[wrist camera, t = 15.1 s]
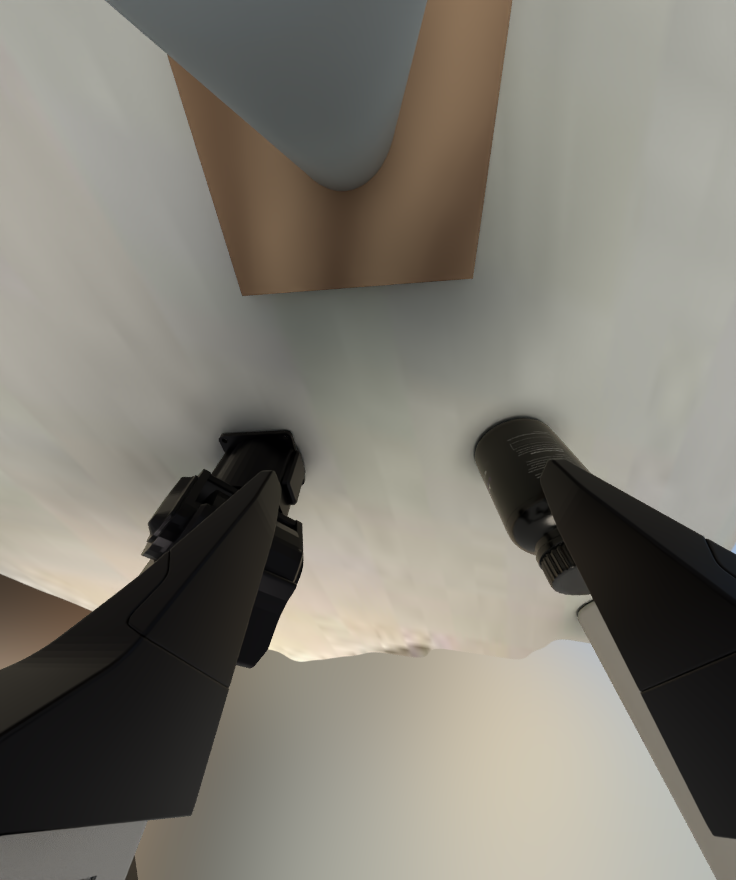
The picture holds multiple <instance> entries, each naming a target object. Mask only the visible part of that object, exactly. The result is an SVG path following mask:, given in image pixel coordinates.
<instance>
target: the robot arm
mask: <svg viewBox="0 0 736 880" xmlns="http://www.w3.org/2000/svg"><path fill="white" fill-rule="evenodd" d="M285 436H288V437H285ZM225 439H227V440H225ZM219 442H220V444H221V446H222V448H223V450H224V452H225V454H224V456H223V457H222V459H221V460H220V462H219V463H218V465H217V466H216V468H215V469H214V471H213V472H212V474H211V472H209V471H207V470H205V469H203V471H202V472H201V473H200V474H199V475H198V476H196V475H195V476H193V477H182V478H181V479H180V480H179V481H178V483H177V484H176V485H175V487H174V488H173V489H172V490H171V492H170V493H169V494H168V496H167V497H166V498H165V500H164V501H163V502H162V504H161V505H160V507H159V508H158V509H157V511H156V512H155V514H154V515H153V517H152V518H151V520H150V521H149V522H148V526H149V531H150V536H149V537H148V539H147V542H148V543H147V545H146V547H145V548H144V550H143V552H142V554H141V555H142V556H145V557H147V558H150V561H149V562H148V563H147V565H146V566H145V568H144V569H143V571H142V572H141V573H140V575H139V576H138V577H137V578H135V579H134V580H133V581H132V582H130V583H129V584H128V585H126V586H125V587H124V588H123V589H121V590H120V591H119V592H117V593H116V594H115V595H114V596H112V597H111V598H110V599H108V600H107V601H106V602H104V603H103V604H102V605H100V606H99V607H98V608H97V609H95V610H94V611H93V612H91V613H90V614H89V615H87V616H86V617H85V618H83V619H82V620H81V621H80V622H78V623H77V624H76V625H74V626H73V627H72V628H70V629H69V630H68V631H66V632H65V633H64V634H62V635H61V636H60V637H58V638H57V639H56V640H54V641H53V642H51V643H50V644H49V645H47V646H45V647H44V648H42V649H41V650H39V651H38V652H36V653H34V654H32V655H31V656H29V657H27V658H25V659H23V660H21V661H19V662H17V663H15V664H13V665H10V666H8V667H6V668H3V669H1V670H0V880H138V877H137V869H136V862H135V852H136V849H137V847H138V844H139V842H140V839H141V836H142V834H143V831H144V829H145V826H146V823H147V821H148V820H156V819H165V818H175V817H184V816H191V815H192V812H193V809H194V806H195V803H196V800H197V796H198V793H199V790H200V786H201V782H202V779H203V776H204V773H205V769H206V765H207V762H208V758H209V755H210V752H211V749H212V745H213V742H214V738H215V735H216V732H217V728H218V725H219V721H220V718H221V714H222V711H223V708H224V704H225V701H226V697H227V694H228V690H229V686H230V683H231V680H232V676H233V673H234V669H235V666H236V665H238V666H242V667H246V668H252V667H254V666H255V665H256V663H257V662H258V661H259V660H260V659H261V657H262V656H263V655H264V654H265V652H266V651H267V650H268V647H269V645H270V642H271V639H272V636H273V634H274V631H275V628H276V625H277V623H278V620H279V618H280V615H281V613H282V611H283V609H284V607H285V605H286V603H287V601H288V600H289V598H290V597H291V595H292V594H293V592H294V590H295V589H296V587H297V583H298V581H299V578H300V576H301V572H302V568H303V534H302V523H301V522H299V521H297V520H296V521H295V520H293V519H291V518H289V517H288V516H287V515H288V512H289V509H290V505H295V504H296V503H297V500H298V496H299V493H300V489H301V486H302V485H303V484H304V482H305V477H304V475H305V468H304V465H303V461H302V458H301V454H300V452H299V451H297V449H296V446H295V442H294V439H293V436H292V433H291V432H289V431H266V432H246V433H227V434H222V435H221V436H220V438H219ZM540 483H541V486H542V489H543V492H544V494H545V497H546V500H547V502H548V505H549V508H550V510H551V513H552V516H553V519H554V521H555V524H556V526H557V528H558V530H559V532H560V534H561V536H562V538H563V540H564V542H565V544H566V546H567V548H568V550H569V552H570V554H571V556H572V558H573V560H574V562H575V564H576V566H577V568H578V570H579V572H580V574H581V576H582V578H583V580H584V582H585V584H586V586H587V588H588V590H589V592H590V594H591V596H592V598H593V600H594V602H595V604H596V606H597V608H598V610H599V612H600V614H601V616H602V618H603V620H604V622H605V624H606V626H607V628H608V630H609V632H610V634H611V636H612V638H613V640H614V642H615V644H616V646H617V648H618V650H619V652H620V654H621V656H622V658H623V660H624V662H625V664H626V666H627V668H628V670H629V672H630V674H631V676H632V678H633V679H634V681H635V683H636V685H637V687H638V689H639V691H641V692H640V694H641V696H642V698H643V700H644V702H645V704H646V706H647V708H648V710H649V712H650V714H651V716H652V718H653V720H654V722H655V724H656V726H657V728H658V730H659V732H660V734H661V736H662V738H663V740H664V742H665V744H666V746H667V748H668V750H669V752H670V753H671V755H672V757H673V759H674V761H675V763H676V765H677V767H678V769H679V771H680V773H681V775H682V777H683V779H684V781H685V783H686V785H687V787H688V789H689V791H690V793H691V795H692V797H693V799H694V801H695V803H696V805H697V807H698V809H699V811H700V813H701V815H702V817H703V819H704V821H705V823H706V825H707V826H708V828H709V830H710V831H711V833H712V835H713V836H715V837H722V838H729V839H736V554H734V553H732V552H731V551H729V550H727V549H725V548H723V547H722V546H720V545H718V544H716V543H715V542H713V541H711V540H709V539H705V538H704V537H703V536H702V535H700V534H698V533H696V532H695V531H693V530H691V529H689V528H688V527H686V526H684V525H682V524H680V523H679V522H677V521H675V520H673V519H671V518H670V517H668V516H666V515H664V514H662V513H661V512H659V511H657V510H655V509H653V508H652V507H650V506H648V505H646V504H645V503H643V502H641V501H639V500H637V499H636V498H634V497H632V496H630V495H628V494H627V493H625V492H623V491H621V490H619V489H618V488H616V487H614V486H612V485H611V484H609V483H607V482H605V481H603V480H602V479H600V478H598V477H596V476H594V475H593V474H591V473H589V472H587V471H585V470H584V469H582V468H580V467H578V466H576V465H575V464H573V463H571V462H569V461H568V460H566V459H562V458H560V459H550V460H548V461H547V463H546V466H545V468H544V470H543V472H542V475H541V477H540Z"/></svg>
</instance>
